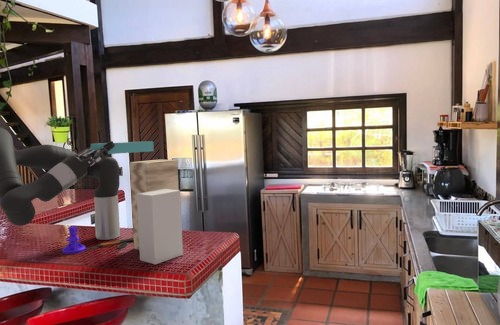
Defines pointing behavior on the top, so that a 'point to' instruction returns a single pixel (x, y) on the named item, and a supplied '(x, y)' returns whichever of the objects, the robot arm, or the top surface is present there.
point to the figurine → (73, 242)
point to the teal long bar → (127, 147)
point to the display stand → (150, 183)
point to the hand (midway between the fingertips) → (108, 143)
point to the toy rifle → (122, 242)
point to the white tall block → (159, 225)
